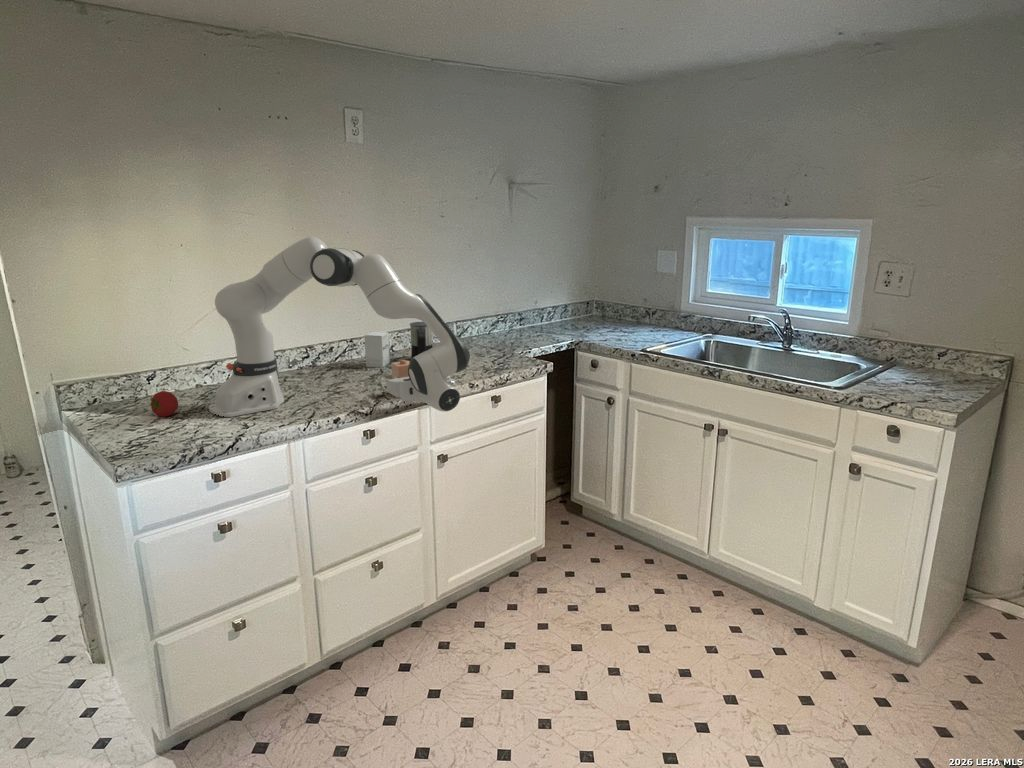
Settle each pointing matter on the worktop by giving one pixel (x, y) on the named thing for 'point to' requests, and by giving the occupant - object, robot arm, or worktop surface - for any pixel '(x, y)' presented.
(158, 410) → the tomato
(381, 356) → the supplement box
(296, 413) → the worktop surface
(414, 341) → the milk frother
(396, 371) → the tan tall prism
